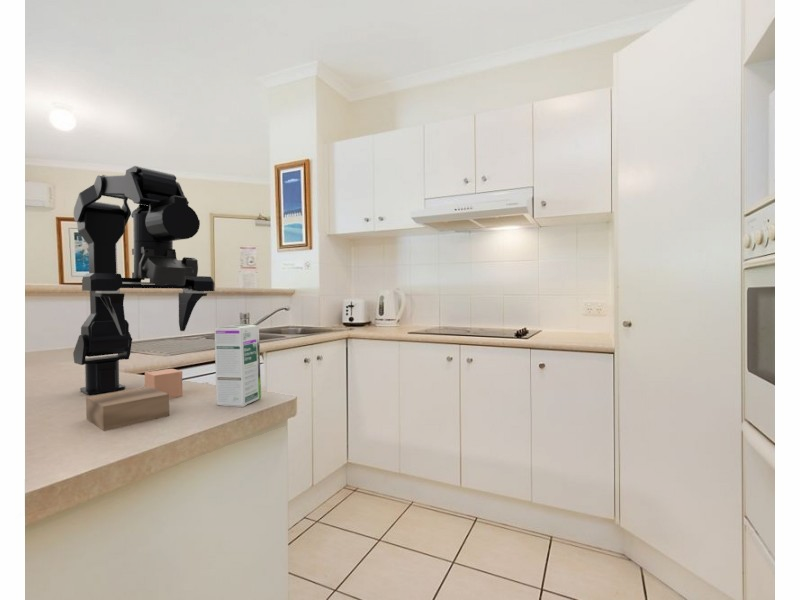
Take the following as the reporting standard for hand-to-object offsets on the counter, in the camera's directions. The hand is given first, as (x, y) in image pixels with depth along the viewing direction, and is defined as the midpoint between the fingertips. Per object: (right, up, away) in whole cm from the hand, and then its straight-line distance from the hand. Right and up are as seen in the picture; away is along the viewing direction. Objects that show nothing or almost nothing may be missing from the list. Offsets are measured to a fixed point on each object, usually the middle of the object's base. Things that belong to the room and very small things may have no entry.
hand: (154, 333), depth 68 cm
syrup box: (+13, -14, +5) cm, 19 cm away
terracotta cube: (-4, -14, +10) cm, 17 cm away
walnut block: (-2, -14, -3) cm, 15 cm away
